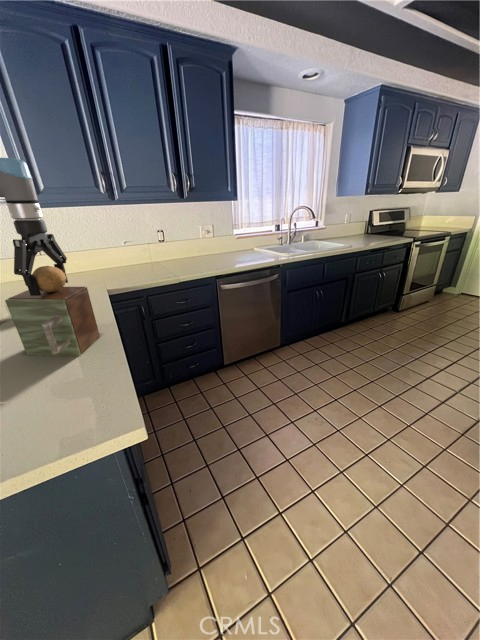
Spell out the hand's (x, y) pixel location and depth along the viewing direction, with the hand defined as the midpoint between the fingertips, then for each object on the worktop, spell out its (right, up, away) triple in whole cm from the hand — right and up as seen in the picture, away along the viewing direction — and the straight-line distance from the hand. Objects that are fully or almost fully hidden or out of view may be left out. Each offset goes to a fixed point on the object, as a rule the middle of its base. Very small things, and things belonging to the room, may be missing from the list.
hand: (50, 288), depth 87 cm
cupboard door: (0, -24, -1) cm, 24 cm away
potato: (0, -1, +1) cm, 1 cm away
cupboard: (0, -19, +8) cm, 21 cm away
